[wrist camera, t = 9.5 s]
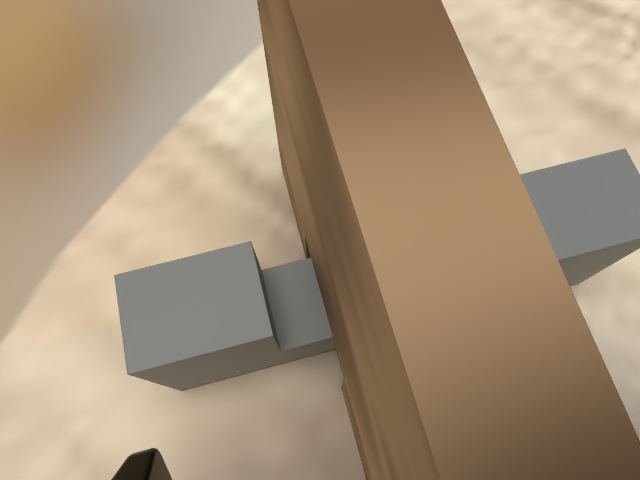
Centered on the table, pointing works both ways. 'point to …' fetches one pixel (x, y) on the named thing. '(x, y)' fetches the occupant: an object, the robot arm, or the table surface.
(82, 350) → the table surface
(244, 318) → the charcoal rail
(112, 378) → the table surface
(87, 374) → the table surface
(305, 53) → the walnut plate
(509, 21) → the table surface
